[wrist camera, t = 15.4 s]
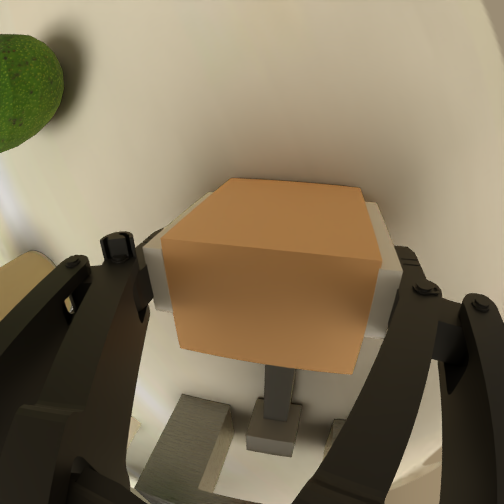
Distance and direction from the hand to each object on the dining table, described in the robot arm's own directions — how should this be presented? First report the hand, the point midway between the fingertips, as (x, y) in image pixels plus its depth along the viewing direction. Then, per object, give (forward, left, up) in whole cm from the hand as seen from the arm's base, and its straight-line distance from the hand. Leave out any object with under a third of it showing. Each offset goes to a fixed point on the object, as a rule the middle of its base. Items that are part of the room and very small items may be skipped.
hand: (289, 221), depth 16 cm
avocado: (+9, +17, -2) cm, 20 cm away
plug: (-9, 0, -2) cm, 9 cm away
